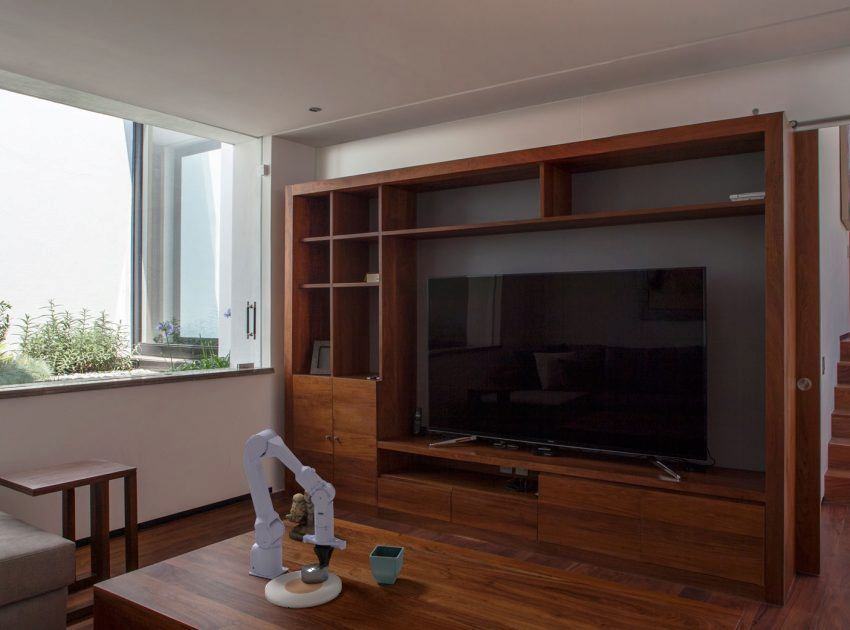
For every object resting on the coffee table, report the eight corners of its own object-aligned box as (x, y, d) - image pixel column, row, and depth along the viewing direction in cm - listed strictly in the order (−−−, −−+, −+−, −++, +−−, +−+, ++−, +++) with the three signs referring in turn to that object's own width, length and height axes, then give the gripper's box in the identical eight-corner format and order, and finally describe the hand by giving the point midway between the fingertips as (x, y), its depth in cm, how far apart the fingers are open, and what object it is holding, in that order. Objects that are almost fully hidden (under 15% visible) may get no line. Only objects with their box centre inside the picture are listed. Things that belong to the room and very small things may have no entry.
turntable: (248, 598, 188) (248, 593, 188) (296, 570, 208) (296, 565, 208) (312, 614, 179) (312, 608, 179) (355, 582, 199) (355, 577, 199)
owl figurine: (280, 540, 235) (279, 492, 235) (293, 529, 246) (292, 483, 246) (328, 543, 231) (327, 494, 231) (339, 532, 243) (338, 485, 242)
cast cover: (295, 581, 196) (295, 571, 196) (311, 571, 203) (310, 561, 203) (318, 585, 193) (318, 575, 193) (333, 575, 200) (333, 565, 200)
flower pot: (398, 588, 195) (397, 557, 194) (369, 585, 196) (368, 555, 196) (404, 575, 203) (404, 546, 203) (377, 573, 205) (376, 545, 205)
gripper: (351, 523, 203) (351, 567, 204) (312, 517, 210) (312, 560, 210) (338, 531, 197) (339, 576, 197) (298, 524, 203) (299, 568, 204)
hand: (324, 568), depth 203 cm, fingers closed, pressing on cast cover
